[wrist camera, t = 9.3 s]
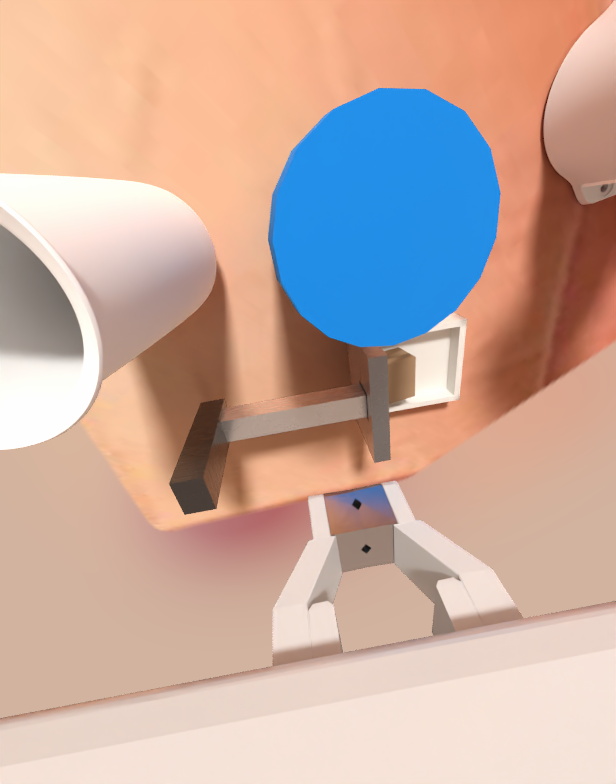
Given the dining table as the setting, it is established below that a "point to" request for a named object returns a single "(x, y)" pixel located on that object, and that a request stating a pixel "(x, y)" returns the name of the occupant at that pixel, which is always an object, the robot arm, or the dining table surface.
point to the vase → (87, 290)
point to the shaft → (250, 435)
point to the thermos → (384, 217)
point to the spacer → (400, 374)
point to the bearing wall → (372, 397)
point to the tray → (435, 363)
